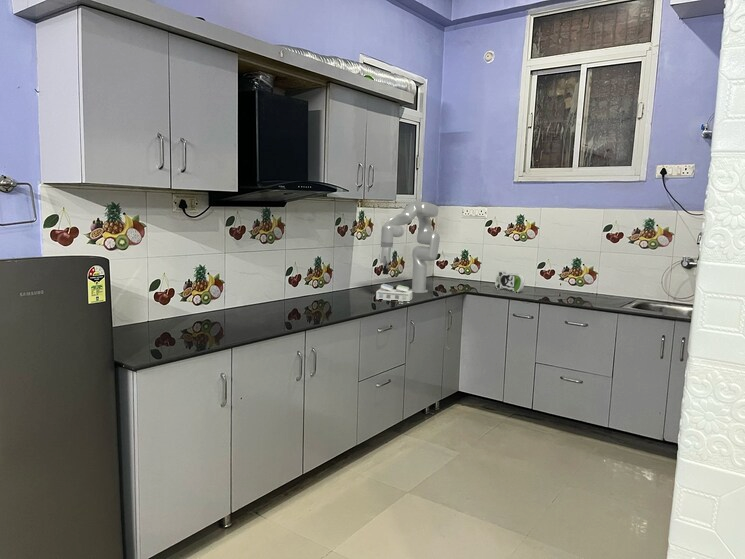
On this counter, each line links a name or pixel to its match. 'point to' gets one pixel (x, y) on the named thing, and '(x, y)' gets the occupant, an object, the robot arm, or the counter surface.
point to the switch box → (394, 295)
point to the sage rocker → (402, 288)
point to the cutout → (509, 281)
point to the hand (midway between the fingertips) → (385, 274)
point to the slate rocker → (387, 287)
